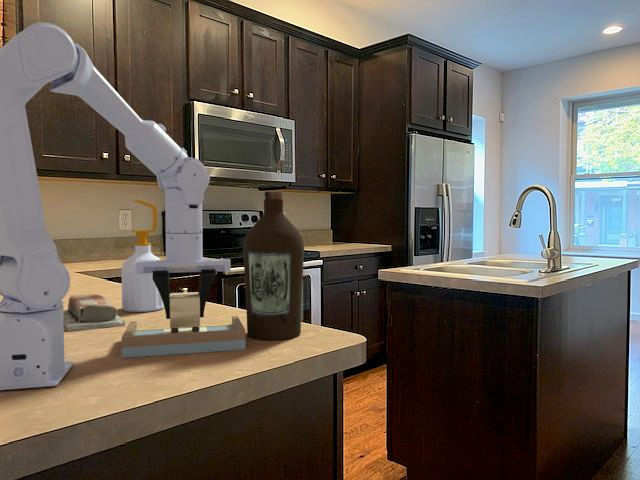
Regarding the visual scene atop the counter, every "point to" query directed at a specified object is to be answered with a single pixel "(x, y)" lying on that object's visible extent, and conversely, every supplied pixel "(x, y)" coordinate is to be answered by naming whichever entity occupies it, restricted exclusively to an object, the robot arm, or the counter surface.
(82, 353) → the counter surface
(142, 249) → the soap bottle
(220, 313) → the counter surface
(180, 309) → the beige block with rod
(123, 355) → the dock
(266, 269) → the olive oil
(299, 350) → the counter surface
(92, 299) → the packaged product
